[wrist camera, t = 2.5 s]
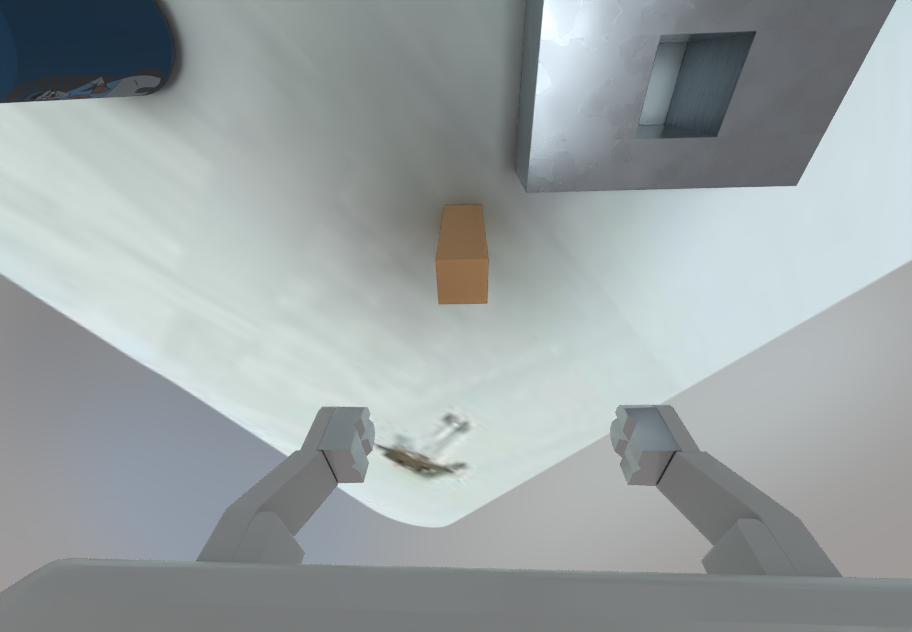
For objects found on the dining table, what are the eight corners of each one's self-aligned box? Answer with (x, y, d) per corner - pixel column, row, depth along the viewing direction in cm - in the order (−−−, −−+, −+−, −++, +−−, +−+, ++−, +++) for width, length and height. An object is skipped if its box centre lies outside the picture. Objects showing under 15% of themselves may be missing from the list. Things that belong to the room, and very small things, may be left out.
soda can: (60, -88, 18) (-403, -276, 9) (195, 11, 21) (-49, -50, 11) (59, 45, 22) (-274, 19, 12) (176, 117, 24) (-24, 145, 14)
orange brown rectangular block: (446, 240, 29) (438, 304, 21) (444, 205, 27) (435, 260, 19) (480, 239, 29) (487, 303, 21) (481, 204, 27) (488, 258, 19)
